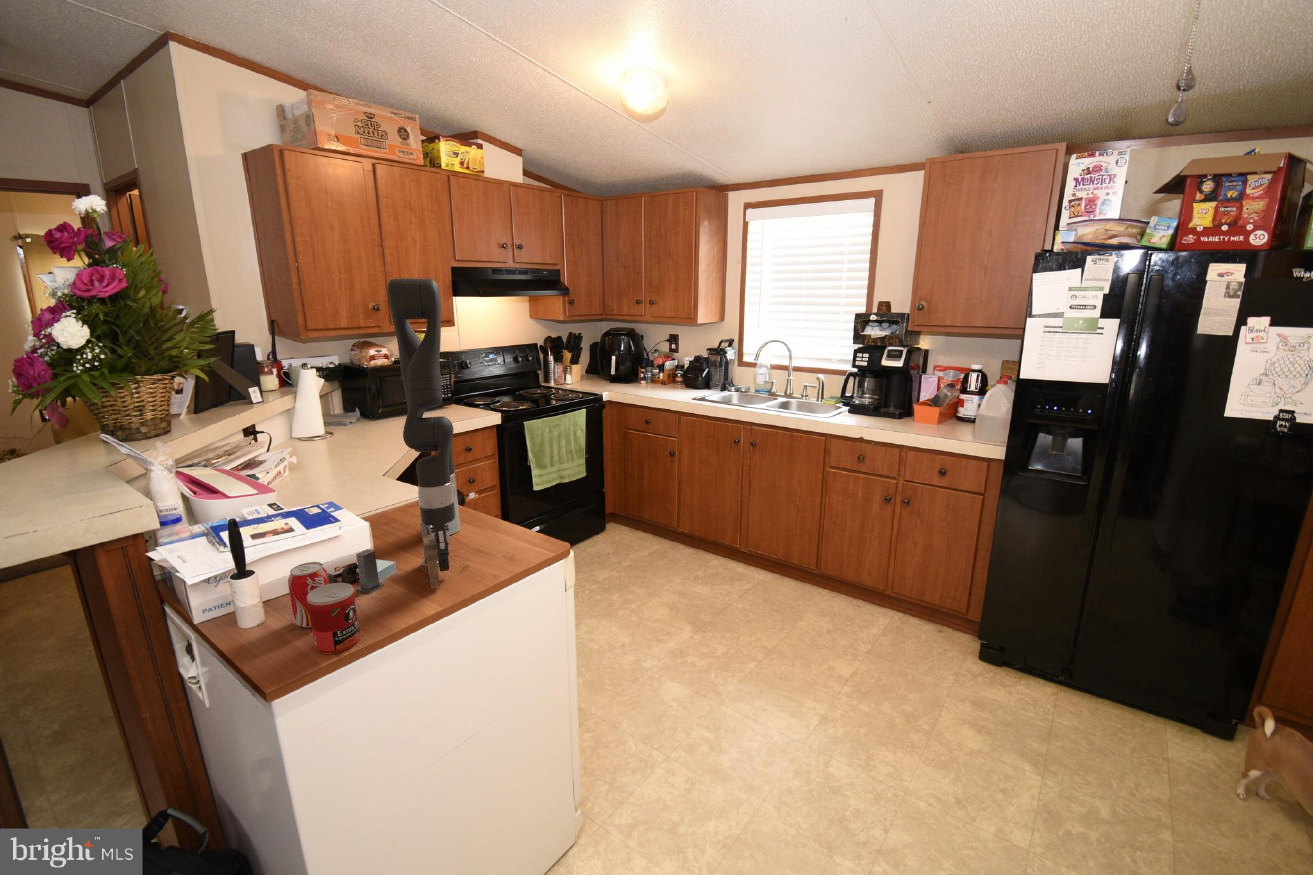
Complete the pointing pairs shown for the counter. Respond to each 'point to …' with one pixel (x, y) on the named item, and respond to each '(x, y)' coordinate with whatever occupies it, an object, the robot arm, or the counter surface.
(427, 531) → the hinge post
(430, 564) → the gate
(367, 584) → the post
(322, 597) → the canned food
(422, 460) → the robot arm
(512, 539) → the counter surface
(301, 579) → the soda can
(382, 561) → the block
